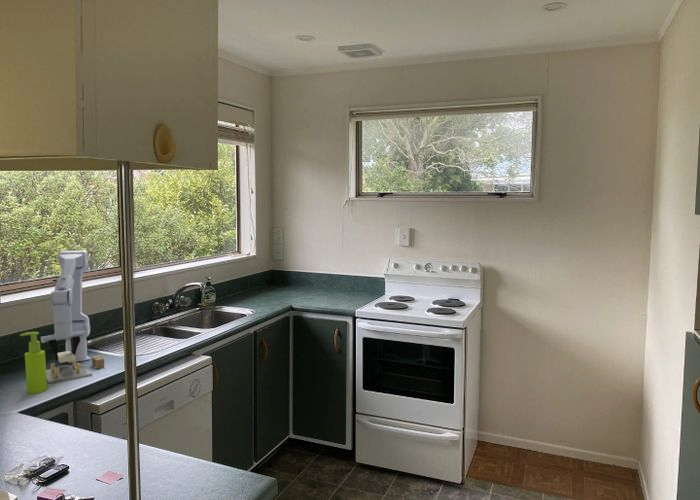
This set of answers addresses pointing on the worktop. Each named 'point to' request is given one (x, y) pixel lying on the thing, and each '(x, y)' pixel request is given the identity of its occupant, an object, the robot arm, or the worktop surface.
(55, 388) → the worktop surface
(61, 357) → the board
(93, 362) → the wooden block
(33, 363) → the soap dispenser
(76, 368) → the chassis
